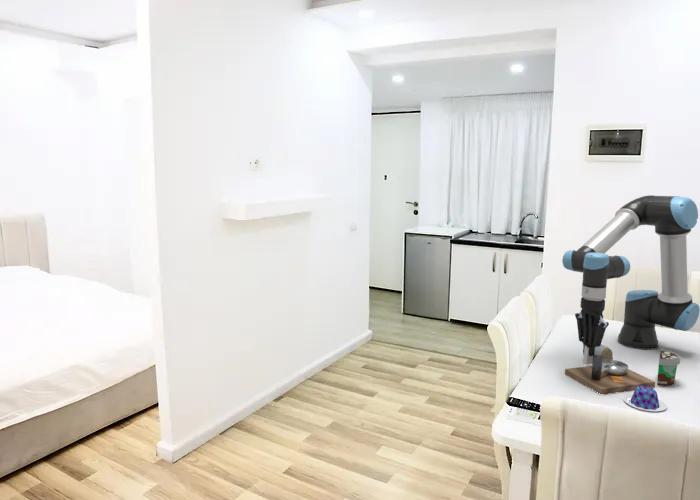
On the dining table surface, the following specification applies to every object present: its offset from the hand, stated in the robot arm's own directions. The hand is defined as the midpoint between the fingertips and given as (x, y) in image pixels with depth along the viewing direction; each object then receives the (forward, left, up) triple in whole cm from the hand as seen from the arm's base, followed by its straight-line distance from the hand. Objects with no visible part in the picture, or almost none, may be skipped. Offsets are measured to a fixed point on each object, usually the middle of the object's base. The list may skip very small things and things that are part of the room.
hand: (587, 363), depth 179 cm
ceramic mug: (-18, -15, -7) cm, 24 cm away
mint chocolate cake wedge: (-27, +8, -7) cm, 29 cm away
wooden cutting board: (-8, +2, -7) cm, 10 cm away
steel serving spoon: (-8, 0, -4) cm, 9 cm away
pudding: (-5, +20, -7) cm, 22 cm away
